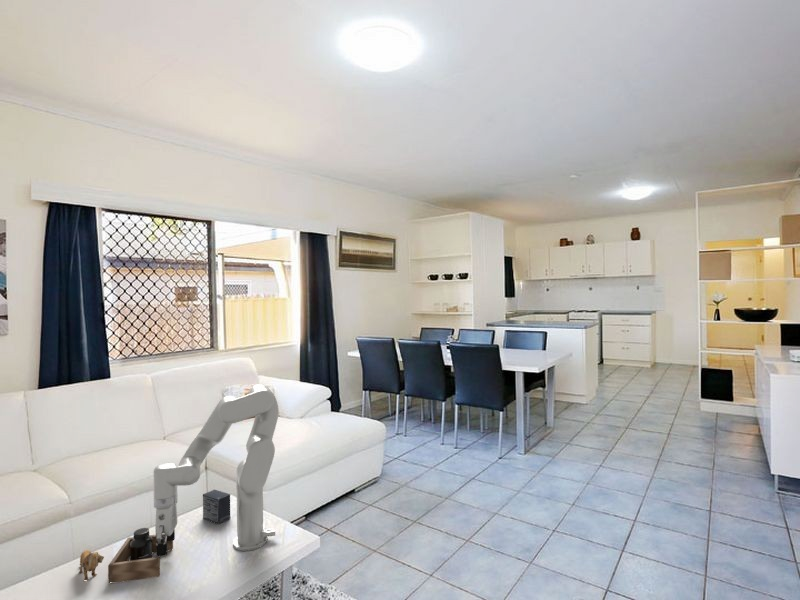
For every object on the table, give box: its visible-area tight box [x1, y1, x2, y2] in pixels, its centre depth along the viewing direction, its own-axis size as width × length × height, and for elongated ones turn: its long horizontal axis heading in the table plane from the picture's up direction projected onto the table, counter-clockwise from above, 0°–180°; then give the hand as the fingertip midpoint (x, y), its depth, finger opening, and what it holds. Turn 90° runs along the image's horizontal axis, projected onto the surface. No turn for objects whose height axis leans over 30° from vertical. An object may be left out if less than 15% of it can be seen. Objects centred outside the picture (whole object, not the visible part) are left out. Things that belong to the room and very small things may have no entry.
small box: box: [202, 489, 231, 525], centre depth 189 cm, size 11×6×10 cm, turn 60°
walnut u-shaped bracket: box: [107, 533, 174, 584], centre depth 156 cm, size 15×17×6 cm
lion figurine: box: [78, 549, 105, 581], centre depth 152 cm, size 15×5×9 cm, turn 55°
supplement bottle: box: [129, 527, 153, 561], centre depth 156 cm, size 7×7×12 cm
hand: (165, 547), depth 158 cm, fingers open, 9 cm apart
